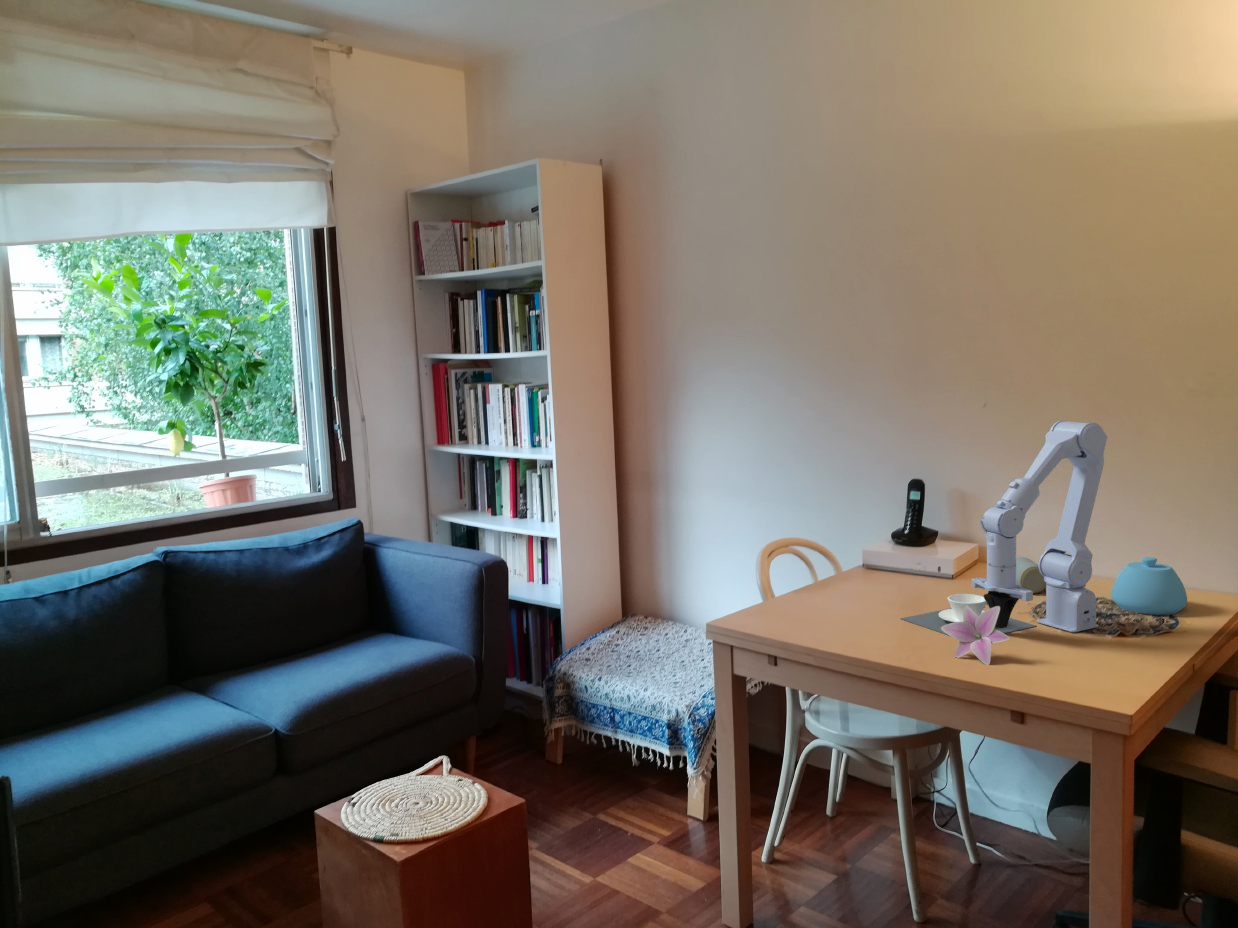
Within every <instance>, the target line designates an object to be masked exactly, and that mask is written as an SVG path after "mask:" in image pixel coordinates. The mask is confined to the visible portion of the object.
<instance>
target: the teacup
mask: <svg viewBox="0 0 1238 928" xmlns="http://www.w3.org/2000/svg"><path fill="white" fill-rule="evenodd" d="M947 601H948V604H949V605H950V608H952V609H950V608H946V609H947V610H945V609H942V610H943V611H941V612H940V613H939V617H941V618H942V619H944V620H947V621H951V622H963V615H964V608H965V606H968V607H969V608H970V609H972V610H973V611H974V612H975V613H976V614H977V616H979V615H980V614H981V613H983V612H984V611H983V610H984V609H985V608H986V606H989V605H988V604H987V602H986V600H985V599H984V596H982V595H979V594H973V593H955V594H951V595H949V596H947Z"/></svg>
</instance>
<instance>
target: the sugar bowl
mask: <svg viewBox="0 0 1238 928" xmlns="http://www.w3.org/2000/svg"><path fill="white" fill-rule="evenodd" d="M1110 593H1111V595H1110V597H1111V599H1112V601H1113V602H1114V603H1115V605H1116V606H1117V607H1118V608H1119V607H1120V608H1119V609H1121V608H1122V610H1123V609H1124V611H1126V610H1128V611H1127V612H1130V611H1132V612H1131V613H1134V612H1137V613H1136V614H1140V613H1144V614H1143V615H1149V614H1151V615H1153V616H1167V615H1174V614H1177V613H1179V612H1181V611H1182V610H1183V609H1184V608H1185V607H1186V606H1187V604H1188V596H1187V591H1186V589H1185V586H1184V584H1183V581H1182V579H1181V578H1180V577H1179V575H1178V574H1177V572H1176V571H1175V570H1174V568H1173V567H1172V566H1171V565H1168V564H1165V563H1161V562H1158V559H1157V558H1156V557H1151V556H1143V557H1142V558H1141V561H1135V562H1130V563H1128V564H1126V565H1125V566H1124V568H1123V569H1122V570H1121V571H1120V573H1119V574H1118V576H1117V577H1116V578H1115V581H1114V583H1113V585H1112V588H1111V592H1110ZM1151 615H1150V616H1151Z"/></svg>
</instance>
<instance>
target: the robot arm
mask: <svg viewBox="0 0 1238 928" xmlns="http://www.w3.org/2000/svg"><path fill="white" fill-rule="evenodd" d="M1044 439H1045V443H1044V445H1043V447H1042V448H1041V449H1040V451H1039V453H1038V454H1037V456H1036V457H1035V459H1034V461H1033V462H1032V464H1031V465H1030V467H1029V469H1028V470H1027V471H1026V473H1025V475H1024V476H1023V477H1020V478H1016V479H1014V481H1011V482H1010V483H1009V484H1008V488H1007V490H1006V491H1005V492H1004V494H1003V495H1002V496H1001V498H1000V499H999V500H998V501H997V502H996V505H995V506H992V507H990V508H989V509H987V510H986V511H985V512H984V514H983V515H982V519H980V520H979V521H980V526H981V529H982V530H983V531H984V535H985V537H984V539H986V578H983V577H978V576H977V577H973V578H971V588H973V589H980V590H981V589H982V590H985V591H988V592H987V593H984V594H983V597H984V599H985V600H986V602H987V604H988V605H987V606H988V607H989V608H988V609H990V608H993V607H996V606H1000V612H999V615H998V618H997V621H996V625H995V627H997V628H1005V627H1007V625H1008V621H1009V618H1011V614H1012V612H1013V610H1014V608H1015V606H1016V604H1017V603H1018V601H1019V600H1022V601H1023V602H1032V601H1034V593H1033V591H1030V590H1027V589H1025V588H1023V587H1021V586H1019V585H1016V559H1017V536H1018V534H1020V533H1021V532H1022V530H1023V528H1024V521H1025V518H1026V514H1027V512H1028V511H1029V510H1030V508H1031V507H1032V506H1033V505H1034V503H1035V502H1036V500H1038V498H1039V497H1040V494H1041V492H1040V486H1041V484H1042V483H1043V482H1044V481H1045V480H1046V479H1047V478H1048V476H1049V475H1050V474H1051V472H1053V470H1054V469H1056V467H1057V466H1058V465H1059V464H1060V462H1061V461H1062V460H1065V459H1068V461H1069V462H1070V464H1071V465H1072V467H1073V470H1072V474H1071V478H1070V482H1069V485H1068V490H1067V494H1066V497H1065V503H1064V506H1063V511H1062V514H1061V519H1060V524H1059V528H1058V531H1057V535H1056V537H1054V538H1053V539H1052V540H1050V541H1049V542H1047V543H1046V546H1045V550H1044V552H1043V553H1042V554H1041V555H1040V558H1039V560H1038V563H1037V565H1038V568H1039V571H1040V573H1041V575H1043V576H1044V581H1045V582H1046V588H1045V589H1046V590H1045V591H1046V592H1045V593H1046V594H1045V595H1046V597H1045V601H1046V602H1045V618H1040V619H1036V622H1037V623H1038V624H1042V625H1046V626H1050V627H1053V628H1057V629H1060V630H1062V631H1065V632H1070V633H1078V632H1081V631H1086V630H1090V629H1095V628H1098V627H1099V624H1097V598H1096V595H1095V593H1094V592H1093V591H1092V590H1091V589H1088V588H1086V585H1087V584H1088V582H1089V581H1090V580H1091V578H1092V576H1093V575H1092V574H1093V567H1092V560H1093V553H1092V552H1091V550H1090V549H1089V548H1088V546H1087V545H1086V543H1085V542H1086V538H1087V536H1088V535H1087V534H1088V531H1089V526H1090V523H1091V519H1092V514H1093V511H1094V510H1093V509H1094V506H1095V503H1096V498H1097V494H1098V490H1099V485H1100V482H1101V477H1102V473H1103V471H1104V470H1103V469H1104V465H1105V453H1104V452H1105V449H1106V448H1105V447H1106V445H1107V440H1108V436H1107V434H1106V432H1105V431H1104V429H1103V427H1102V426H1101V425H1100V424H1098V423H1096V422H1080V421H1079V422H1078V421H1077V422H1076V421H1068V420H1058V421H1056V422H1054V424H1053V425H1052V426H1051V428H1050V429H1049V431H1048V432H1047V433H1046V434H1045V438H1044ZM1067 553H1069V554H1067Z"/></svg>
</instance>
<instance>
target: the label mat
mask: <svg viewBox="0 0 1238 928" xmlns="http://www.w3.org/2000/svg"><path fill="white" fill-rule="evenodd" d="M947 609H948V608H945V609H940V610H935V611H930V612H925V613H921V614H916V615H911V616H905V617H901V618H900V620H902V621H905V622H908V623H911V624H914V625H917V626H919V627H922V628H926V629H929V630H931V631H935V632H937V633H940V634H943V635H946V636H949V637H951V636H950V635H948V634H946V633H945V632H943V631H942V630H941V627H942V626H944V625H947V624H950V623H954V622H951V621H947V620H944V619H942V618H941V617H939V613H940V612H941V611H943V610H947ZM949 609H952V608H951V607H950V608H949ZM983 611H986V610H985V609H983ZM1035 627H1037V625H1035V624H1032V623H1029V622H1025V621H1022V620H1018V619H1014V618H1013V617H1010V618H1009V621H1008V625H1007V627H1005V628H997V627H994V629H996V630H998V631H1000V632H1002V633H1004V634H1005V635H1006V634H1008V633H1013V632H1018V631H1022V630H1026V629H1031V628H1032V629H1033V628H1035Z"/></svg>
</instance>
